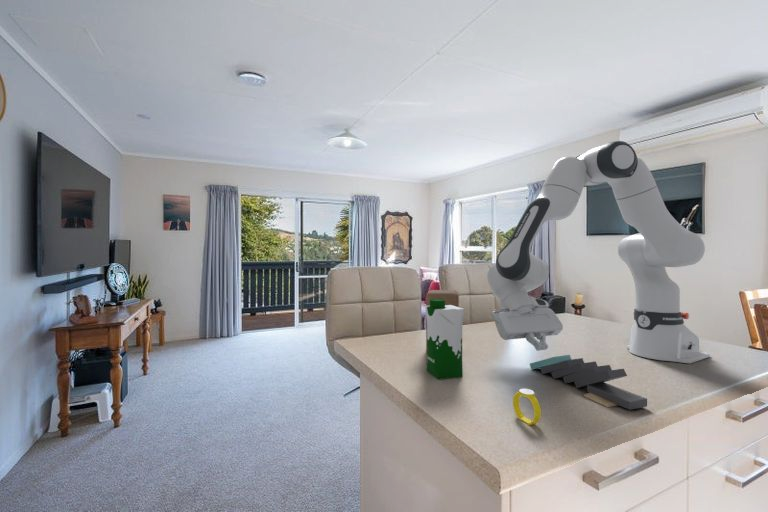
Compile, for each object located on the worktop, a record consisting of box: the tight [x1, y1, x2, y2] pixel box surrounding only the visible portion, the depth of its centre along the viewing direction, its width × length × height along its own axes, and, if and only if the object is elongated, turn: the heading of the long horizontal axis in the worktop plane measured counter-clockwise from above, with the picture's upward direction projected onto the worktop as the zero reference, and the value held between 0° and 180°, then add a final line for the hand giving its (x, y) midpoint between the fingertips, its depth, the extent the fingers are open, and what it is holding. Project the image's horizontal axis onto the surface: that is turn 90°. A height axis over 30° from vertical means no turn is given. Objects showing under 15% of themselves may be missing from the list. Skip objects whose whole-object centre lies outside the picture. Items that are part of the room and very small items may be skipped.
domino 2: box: [539, 357, 585, 375], centre depth 93 cm, size 2×5×10 cm
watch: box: [512, 388, 542, 426], centre depth 69 cm, size 6×3×6 cm, turn 22°
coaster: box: [583, 392, 619, 408], centre depth 79 cm, size 9×6×1 cm, turn 109°
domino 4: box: [562, 364, 612, 384], centre depth 85 cm, size 2×5×10 cm
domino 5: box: [573, 368, 628, 389], centre depth 82 cm, size 2×5×10 cm
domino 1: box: [529, 354, 572, 370], centre depth 96 cm, size 2×5×10 cm
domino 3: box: [550, 361, 598, 380], centre depth 89 cm, size 2×5×10 cm
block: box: [425, 289, 460, 354], centre depth 116 cm, size 10×10×20 cm
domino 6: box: [586, 382, 648, 411], centre depth 78 cm, size 2×5×10 cm
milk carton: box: [425, 299, 465, 380], centre depth 96 cm, size 9×9×20 cm
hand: (542, 349), depth 98 cm, fingers closed
